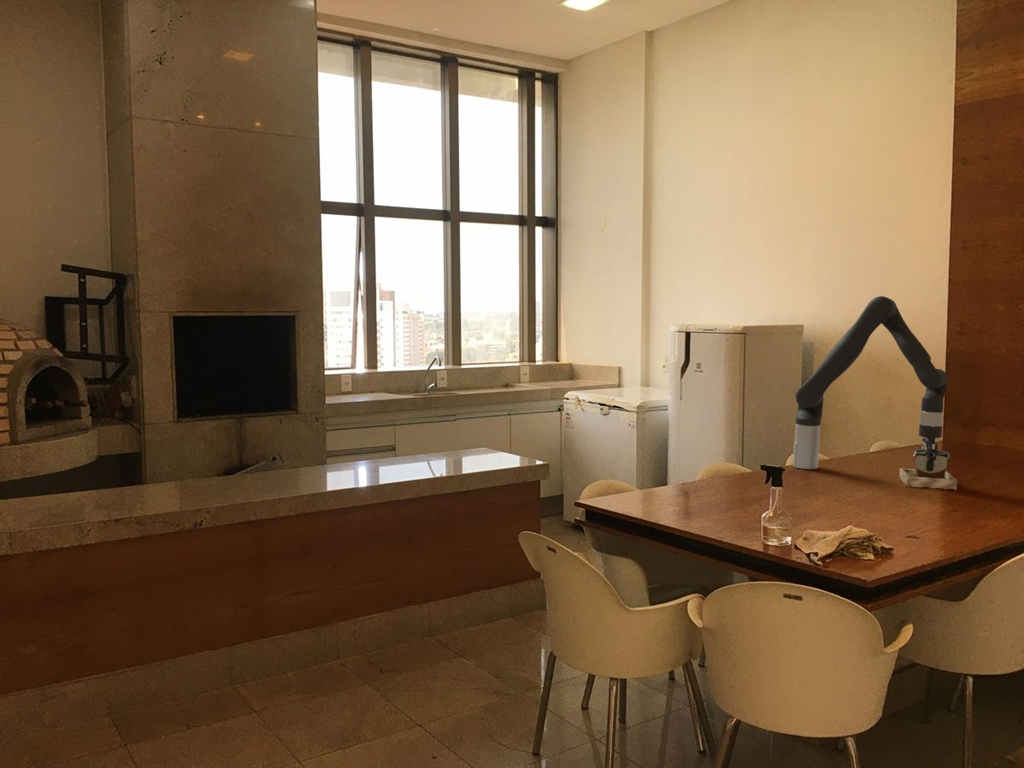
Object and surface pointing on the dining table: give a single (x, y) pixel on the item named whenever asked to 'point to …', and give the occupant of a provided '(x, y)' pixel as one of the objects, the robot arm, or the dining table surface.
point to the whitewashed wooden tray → (927, 480)
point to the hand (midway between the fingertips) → (927, 469)
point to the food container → (939, 464)
